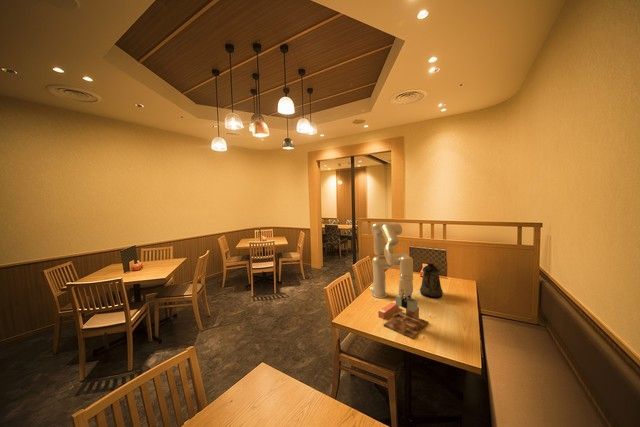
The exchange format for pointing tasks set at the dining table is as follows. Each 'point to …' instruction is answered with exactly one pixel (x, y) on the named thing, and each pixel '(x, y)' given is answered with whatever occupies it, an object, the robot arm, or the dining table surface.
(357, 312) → the dining table surface
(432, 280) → the black backpack
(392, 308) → the orange banded bar
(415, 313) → the jig
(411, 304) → the grey rectangular block
